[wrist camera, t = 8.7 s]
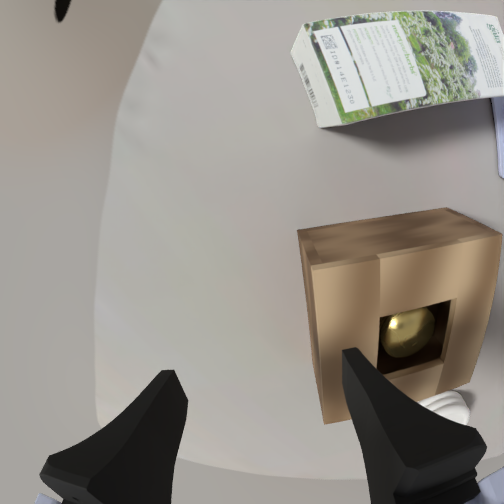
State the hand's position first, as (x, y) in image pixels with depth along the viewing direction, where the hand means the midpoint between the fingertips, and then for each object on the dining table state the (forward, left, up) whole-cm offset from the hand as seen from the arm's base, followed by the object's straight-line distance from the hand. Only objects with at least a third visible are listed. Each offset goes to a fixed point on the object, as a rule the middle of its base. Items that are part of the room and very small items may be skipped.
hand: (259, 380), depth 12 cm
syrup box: (-5, -12, -7) cm, 15 cm away
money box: (-9, +3, -10) cm, 14 cm away
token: (-9, +3, -10) cm, 14 cm away
